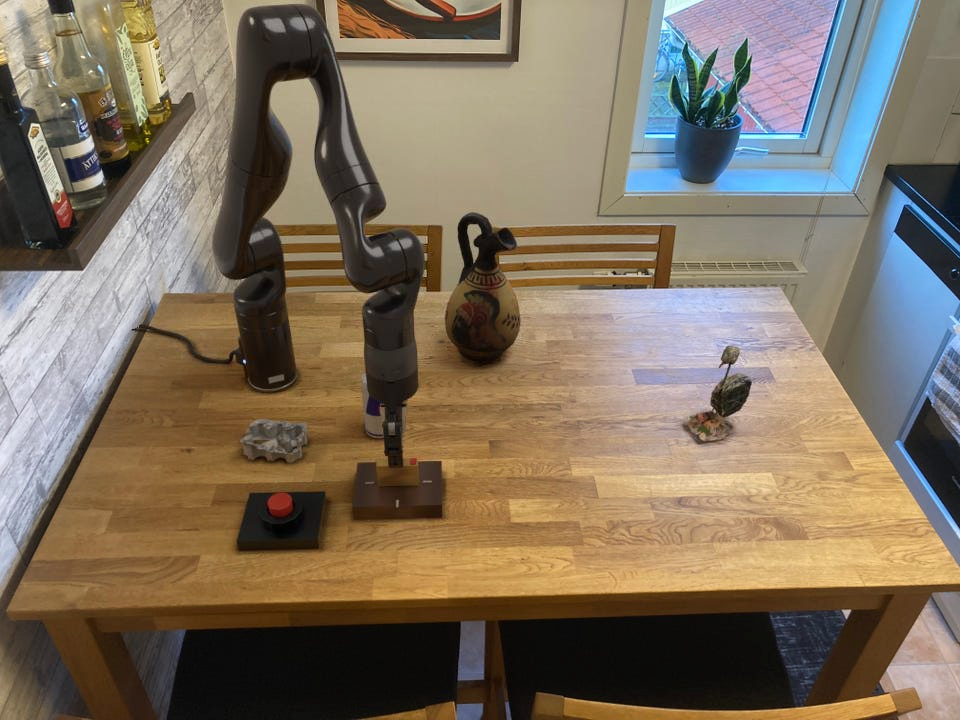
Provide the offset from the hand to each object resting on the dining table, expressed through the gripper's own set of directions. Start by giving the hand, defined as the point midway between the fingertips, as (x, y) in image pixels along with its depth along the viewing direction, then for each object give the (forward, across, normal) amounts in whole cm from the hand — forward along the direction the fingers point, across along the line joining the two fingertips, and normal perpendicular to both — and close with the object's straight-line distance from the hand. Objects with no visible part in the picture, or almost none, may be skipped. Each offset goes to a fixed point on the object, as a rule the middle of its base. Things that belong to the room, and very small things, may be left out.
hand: (397, 447), depth 118 cm
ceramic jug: (+11, -41, +15) cm, 45 cm away
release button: (+7, +6, -18) cm, 20 cm away
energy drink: (+11, -17, -4) cm, 20 cm away
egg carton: (+11, -12, -22) cm, 28 cm away
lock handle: (+8, 0, 0) cm, 8 cm away
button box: (+11, +6, -18) cm, 22 cm away
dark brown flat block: (+11, 0, 0) cm, 11 cm away
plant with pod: (+11, -16, +57) cm, 60 cm away
